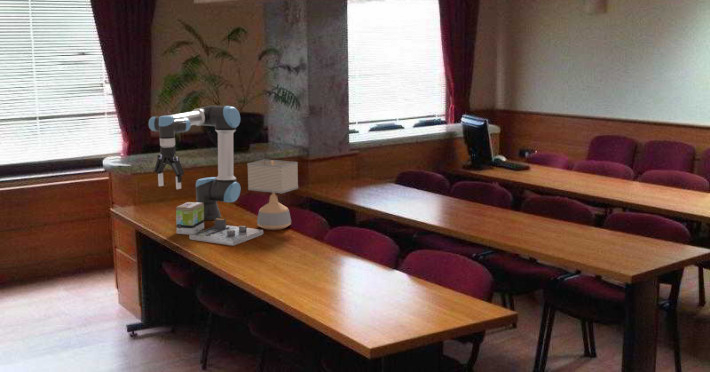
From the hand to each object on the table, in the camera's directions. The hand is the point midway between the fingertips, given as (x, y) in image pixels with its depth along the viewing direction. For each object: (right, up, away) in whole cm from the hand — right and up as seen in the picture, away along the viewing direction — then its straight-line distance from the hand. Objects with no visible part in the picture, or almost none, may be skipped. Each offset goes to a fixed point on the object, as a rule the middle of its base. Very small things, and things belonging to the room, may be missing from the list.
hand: (169, 187), depth 405 cm
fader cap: (+23, -22, +15) cm, 35 cm away
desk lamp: (+51, -22, +28) cm, 62 cm away
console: (+28, -26, +7) cm, 39 cm away
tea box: (+7, -24, +20) cm, 32 cm away
